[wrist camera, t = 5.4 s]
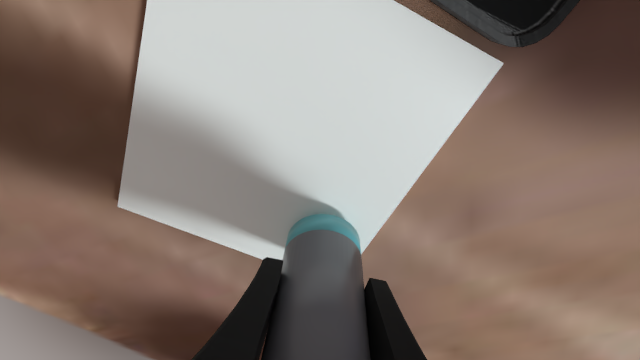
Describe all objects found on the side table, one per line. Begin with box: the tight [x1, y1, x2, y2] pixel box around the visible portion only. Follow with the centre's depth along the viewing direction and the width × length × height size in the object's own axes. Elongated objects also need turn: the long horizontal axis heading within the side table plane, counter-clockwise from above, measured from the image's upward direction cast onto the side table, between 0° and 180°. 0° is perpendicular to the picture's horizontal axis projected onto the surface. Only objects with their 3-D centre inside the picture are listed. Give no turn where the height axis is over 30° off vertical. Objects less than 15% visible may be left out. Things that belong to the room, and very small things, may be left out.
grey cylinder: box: [261, 214, 371, 360], centre depth 10 cm, size 3×3×8 cm
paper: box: [117, 0, 504, 260], centre depth 12 cm, size 11×12×1 cm
